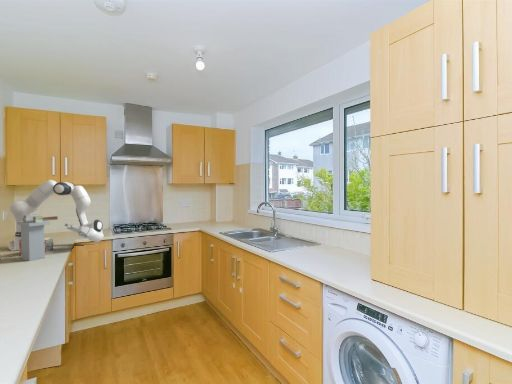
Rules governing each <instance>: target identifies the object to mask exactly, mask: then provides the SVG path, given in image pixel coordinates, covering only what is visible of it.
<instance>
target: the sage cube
mask: <svg viewBox="0 0 512 384" xmlns="http://www.w3.org/2000/svg"><path fill="white" fill-rule="evenodd" d="M42 218H43V216H42V215H40V216H35V217H33V222H34V223H39V222H43V219H42Z"/></svg>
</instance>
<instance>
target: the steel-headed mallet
mask: <svg viewBox="0 0 512 384" xmlns="http://www.w3.org/2000/svg"><path fill="white" fill-rule="evenodd" d="M35 216H41V214H39V213H34V214H33V213H30V215H23V222H25V223H29V222H33V217H35ZM42 219H43V221H55V220H59V217H58V216H57V215H56V216H55V215H54V216H45V217H43V216H42Z"/></svg>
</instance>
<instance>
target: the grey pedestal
mask: <svg viewBox="0 0 512 384" xmlns="http://www.w3.org/2000/svg"><path fill="white" fill-rule="evenodd" d="M17 225H21V255H20V257H21V260H24V261H27V262H28V261H29V262H32V261H36V260H42V259H45V256H46V255H45V252H46V251H45V245H44V238H45V226H46V225H50V220H47V221H43V222H39V223H34V222H29V223H25V222H23V221H20V222H17Z"/></svg>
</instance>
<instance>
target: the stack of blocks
mask: <svg viewBox="0 0 512 384" xmlns="http://www.w3.org/2000/svg"><path fill="white" fill-rule="evenodd" d="M44 245H45V252H47V251H52V250H54V238H53V237H44ZM18 251H19V252H18V253H19V256H21V239H19V250H18Z"/></svg>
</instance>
